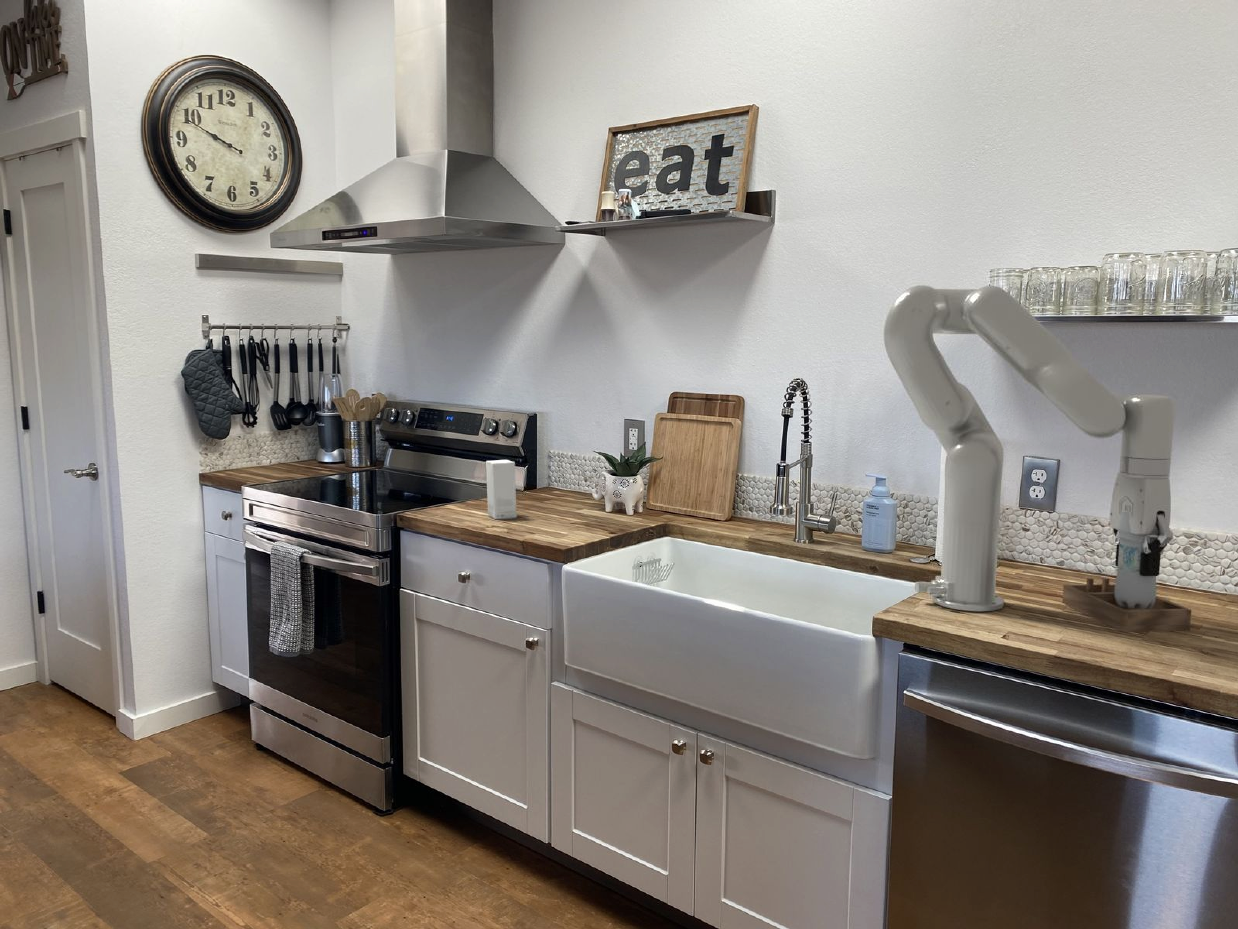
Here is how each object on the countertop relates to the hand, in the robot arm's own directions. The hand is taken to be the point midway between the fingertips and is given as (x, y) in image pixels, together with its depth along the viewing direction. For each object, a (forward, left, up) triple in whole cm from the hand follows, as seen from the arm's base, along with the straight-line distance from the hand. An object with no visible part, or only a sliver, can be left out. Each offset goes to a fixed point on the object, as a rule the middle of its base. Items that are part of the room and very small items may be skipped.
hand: (1136, 570), depth 162 cm
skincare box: (-113, +108, -9) cm, 156 cm away
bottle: (0, 0, -7) cm, 7 cm away
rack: (0, +3, -9) cm, 10 cm away
